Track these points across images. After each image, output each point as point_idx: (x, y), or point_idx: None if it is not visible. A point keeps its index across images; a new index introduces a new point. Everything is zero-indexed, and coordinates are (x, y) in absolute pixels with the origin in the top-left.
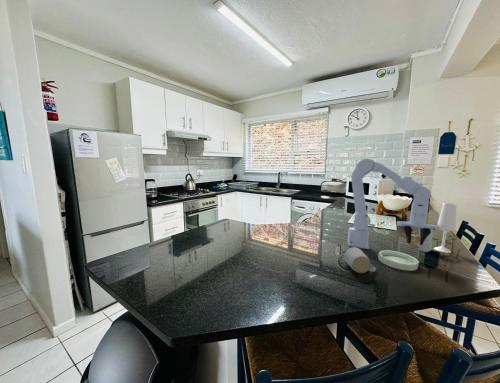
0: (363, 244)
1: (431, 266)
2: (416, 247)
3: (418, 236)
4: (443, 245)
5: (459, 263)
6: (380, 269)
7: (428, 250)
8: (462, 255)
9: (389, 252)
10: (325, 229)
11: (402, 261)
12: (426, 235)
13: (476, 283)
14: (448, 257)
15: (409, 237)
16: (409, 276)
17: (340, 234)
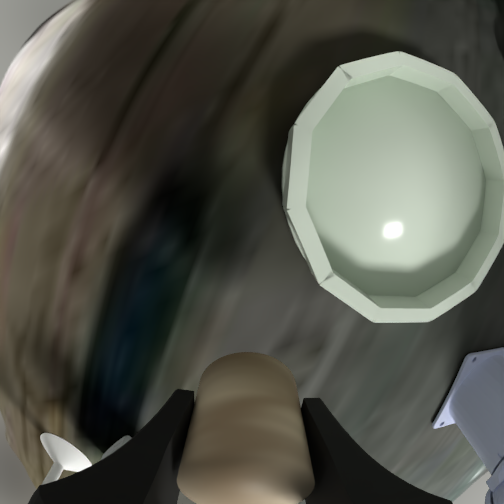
0: (495, 366)
1: (165, 208)
2: (241, 357)
3: (209, 483)
4: (54, 467)
5: (16, 325)
6: (490, 73)
7: (115, 445)
8: (11, 411)
9: (426, 302)
10: (482, 470)
11: (379, 188)
12: (108, 473)
13: (44, 67)
14: (46, 389)
15: (340, 444)
16: (384, 9)
17: (465, 461)
